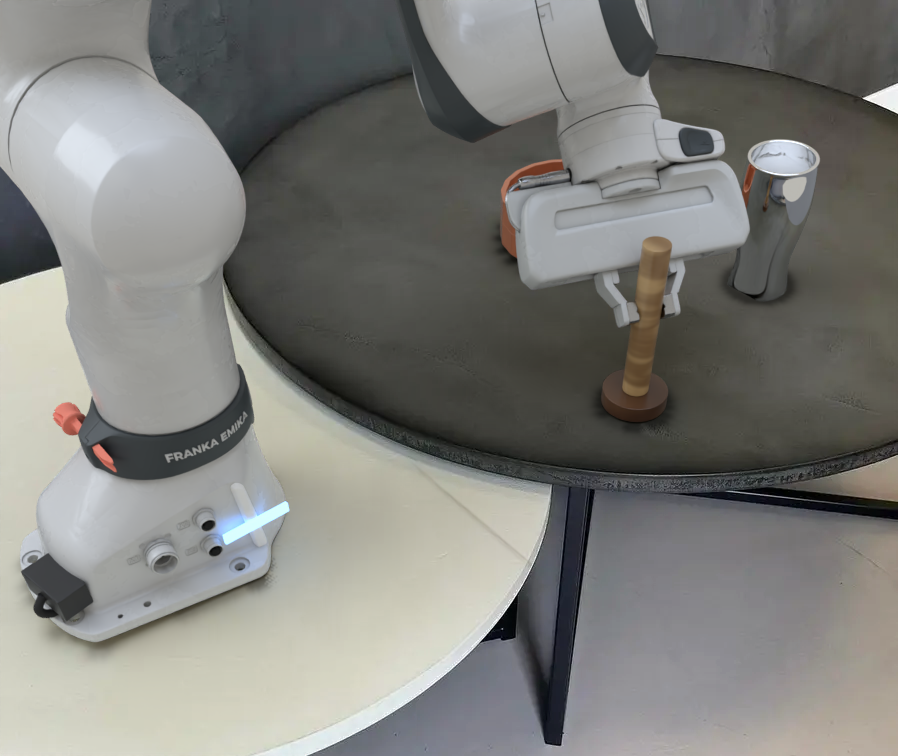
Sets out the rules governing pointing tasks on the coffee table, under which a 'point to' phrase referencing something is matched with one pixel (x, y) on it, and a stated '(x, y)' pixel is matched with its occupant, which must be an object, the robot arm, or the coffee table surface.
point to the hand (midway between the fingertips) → (649, 321)
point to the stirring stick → (642, 343)
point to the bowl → (533, 169)
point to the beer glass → (773, 214)
